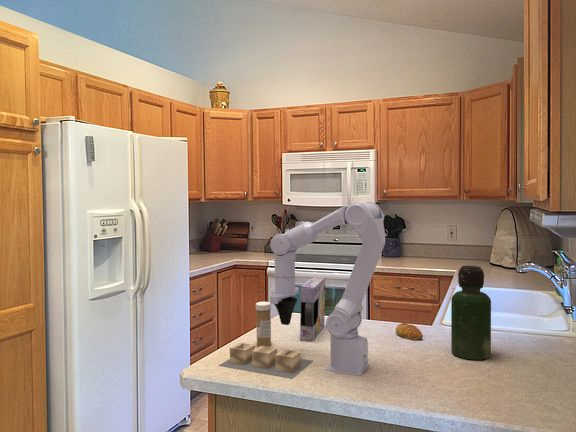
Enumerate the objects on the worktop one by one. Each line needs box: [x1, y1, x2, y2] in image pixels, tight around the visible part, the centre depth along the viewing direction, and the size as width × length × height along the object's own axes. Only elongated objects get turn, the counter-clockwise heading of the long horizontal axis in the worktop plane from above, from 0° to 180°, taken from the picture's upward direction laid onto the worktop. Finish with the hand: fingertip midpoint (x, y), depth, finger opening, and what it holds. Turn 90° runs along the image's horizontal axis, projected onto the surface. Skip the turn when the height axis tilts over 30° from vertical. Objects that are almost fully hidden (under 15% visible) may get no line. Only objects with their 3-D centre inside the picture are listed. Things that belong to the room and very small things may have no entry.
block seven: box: [229, 342, 256, 365], centre depth 127 cm, size 5×5×4 cm
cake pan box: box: [299, 276, 326, 342], centre depth 154 cm, size 19×5×18 cm, turn 164°
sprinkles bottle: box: [255, 301, 272, 348], centre depth 140 cm, size 5×5×13 cm
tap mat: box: [217, 358, 315, 380], centre depth 125 cm, size 22×14×1 cm, turn 64°
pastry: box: [395, 322, 423, 341], centre depth 149 cm, size 9×7×4 cm
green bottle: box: [450, 265, 492, 361], centre depth 131 cm, size 10×10×25 cm
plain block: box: [252, 346, 278, 369], centre depth 124 cm, size 5×5×4 cm
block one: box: [275, 348, 302, 373], centre depth 121 cm, size 5×5×4 cm
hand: (285, 324), depth 131 cm, fingers closed
